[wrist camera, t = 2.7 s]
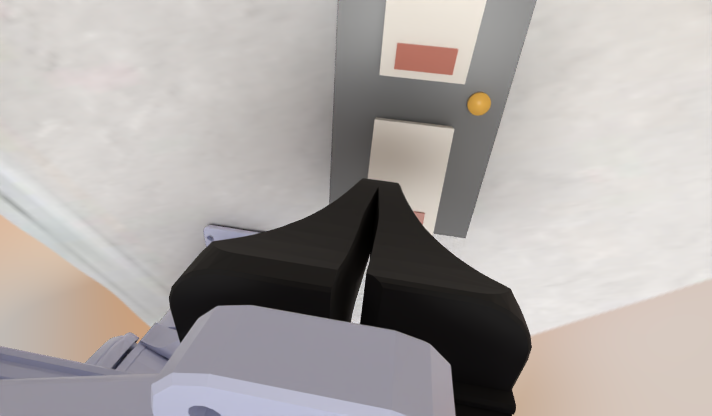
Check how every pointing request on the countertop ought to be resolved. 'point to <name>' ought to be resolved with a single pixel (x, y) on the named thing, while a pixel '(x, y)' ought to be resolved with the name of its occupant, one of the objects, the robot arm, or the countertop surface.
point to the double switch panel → (424, 101)
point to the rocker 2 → (412, 162)
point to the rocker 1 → (430, 38)
